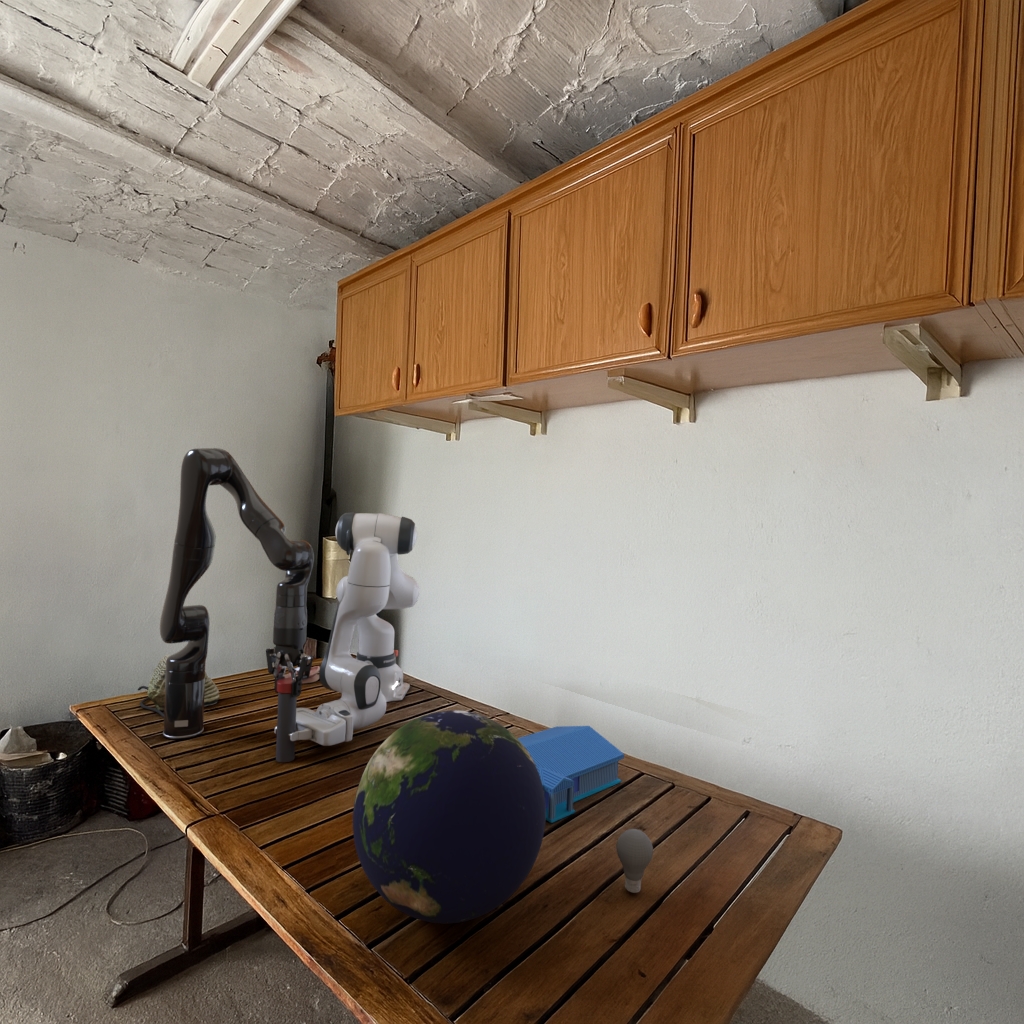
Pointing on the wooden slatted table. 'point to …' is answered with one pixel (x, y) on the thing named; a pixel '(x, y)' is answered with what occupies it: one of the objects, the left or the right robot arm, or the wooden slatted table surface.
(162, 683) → the fossil
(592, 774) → the model building
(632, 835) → the light bulb
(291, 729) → the dark gray cylinder
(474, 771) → the globe
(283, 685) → the lid
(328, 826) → the wooden slatted table surface
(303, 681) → the anatomical model
